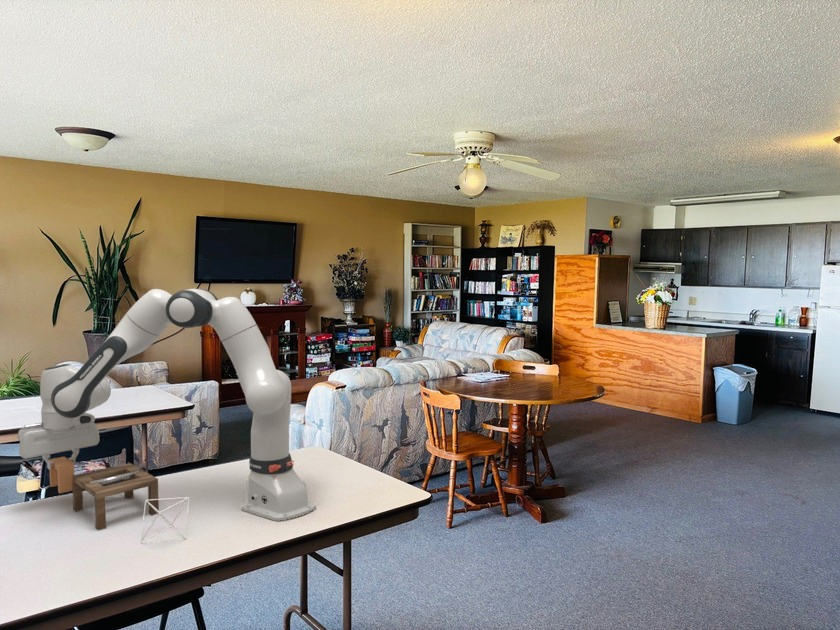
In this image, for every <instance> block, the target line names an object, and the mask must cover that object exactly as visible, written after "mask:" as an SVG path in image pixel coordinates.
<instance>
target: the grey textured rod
mask: <svg viewBox="0 0 840 630" xmlns="http://www.w3.org/2000/svg"><path fill="white" fill-rule="evenodd" d="M134 473H139V471H135V472H131V473H126V474H122V475H117V476H113V477H108V478H104V479H99V480H95V481H91V482H90V483H95V482H97V483H99V484H100V485H102V486H104V485H109V484H113V483H115V482H119V481H120V482H122V481H124V480H125V479H129V478H133V479H134Z"/></svg>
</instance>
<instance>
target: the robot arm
mask: <svg viewBox="0 0 840 630" xmlns="http://www.w3.org/2000/svg"><path fill="white" fill-rule="evenodd" d="M171 324H173V325H174V326H176V327H180V328H183V329H184V328H185V329H193V328H197V327H202V326H203V327H204V326H207V325H209V326H210V327H211V328H213V329H214V331H215V332H216V334H217V335H218V338H219V340H220V342H221V343H222V345H223V347H224V349H225V351H226V353H227V355H228V356H229V358H230V360H231V362H232V365H233V367H234V369H235V372H236V374H237V378H238V381H239V384H240V387H241V389H242V393H244V394H243V395H244V397H245V402H246V405H247V407H248V409H249V410H250V411H251V412H252V421H251V428H250V455H249V462H248V465H249V470H250V473H249V475H248V476H247V477H248V478H247V479H246V483H245V496H244V503H243V504H242V505H241V511H243V512H246V513H250V514H253V515H256V516H260V517H262V518H265V519H268V520H272V521H275V522H280V520H281V521H287V519H288V520H292V519H295V517H296V518H298V516H299V517H302V516H304V514H305V515H307V514H309V513H311V512H313V511H314V510H315V509H316V508H317V505H316V503H315V502H313V501H312V500H310V499H309V498H308V491H307V483H306V482H305V481H304V480H301V478H300V476H298V474H297V472H296V471H295V469H294V465H295V463H294V462H295V460H293V458H292V456H291V454H290V423H291V422H290V421H291V409H292V407H291V406H292V404H291V403H292V382H291V380H290V377H289V376H288V374H286V373H285V372H284V371H282V370H280V369H276V366H275V363H274V361H273V357H272V355H271V351H270V347H269V345H268V344H267V342H266V340H265V338H264V336H263V334H262V333H261V331H260V328H259V327H258V324H257V323H256V321H255V319H254V318H253V315H252V314H251V312H250V311H249V310H248V308H247V307H246V305H245V304H244V303H243V302H242V300H240V299H239V298H238V297H236V296H226V297H223V298H221V299H218V297H217V295H215V293H213V292H211V291H210V290H209V289H204V288H188V289H184V290H178V291H177V292H175V293H173V294H171V293H170V292H168V291H166V290H163V289H160V288H153V289H150V290H149V291H147V292H146V293H145V294H143V295H142V296H141V297H140V298H139V299H138V300H137V301H136V302H135V303H134V304H133V305H132V306H131V307H130V308H129V309H128V311H127V312H126V313H125V315H123V317H122V318H121V319H120V320H119V322H118V324H117V325H116V327H115V328H114V329H113V330H112V332H110V334H109V335H108V336H107V338H106V339H105V340H104V342H103V343H102V344H101V345H100V347H99V348H97V350H95V351H94V353H93V354H92V355H91V356H90V357H89V359H88V360H87V361H86V362H85V363H84V364H83V365H82V366H81V367H80V368H79V369H77V368H76V367H75V366H73V364H69V363H62V364H59V365H53V366H50V367H47V368H44V370H43V371H42V373H41V376H40V384H39V387H40V392H39V393H40V399H41V402H42V406H41V411H40V413H41V422H38V423H33V424H26V425H25V424H24V426H22V427H21V428H20V429H18V432H17V439H18V440H19V445H18V446H19V448H18V449H19V451H18V455H19V456H20V457H21V458H23V459H25V460H26V459H31V458H37V457H42V459H43V460H44V462H45V463H46V465H47V466H46V468H47V469H48V470H49V469H54V468H55V466H54V465H55V463H54V462H53V461H52V462H50V461H49V459H51V458H50V457H51V455H52V454H58V453H62V452H68V451H71V452H72V454H71V457H68V458H67V459H69V460H70V461H72V462H73V463H74V465H76V459H77V457H78V455H79V453H80V449H84V448H90V447H94V446H97V445H98V444H99V442H100V433H99V427H98V425H97V424H96V423H95V421H96V417H95V415H93V414H92V413H89V412H90V411H91V410H93V409H95V408H98V407H99V406H101V405H103V404H104V403H106V402H107V401H108V400H109V398H110V396H111V386H110V382H109V381H108V380H107V379H106V377H108V375H109V373H110V372H111V371H112V370H113V369H114V368H115V367H117V366H118V365H120V364H121V363H123V362H124V361H126V360H128V359H130V358H132V357H134V356H136V355H138V354H141V353H143V352H144V351H146V350H147V349H148V348H149V347H151V346H152V345H153V344H154V343H155V342H156V341H157V340H158V339H159V338H160V336H161V335H163V333H164V331H165V330H166V329H167V328H168V326H169V325H171ZM88 411H89V412H88ZM312 510H313V511H312ZM310 511H311V512H310ZM306 513H307V514H306ZM301 515H302V516H301ZM291 518H292V519H291Z"/></svg>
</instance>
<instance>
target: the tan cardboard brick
mask: <svg viewBox="0 0 840 630" xmlns="http://www.w3.org/2000/svg"><path fill="white" fill-rule="evenodd" d="M48 459H49V461H50V462H52V461H53V462H54V463H55V465H54V466H55V468H54V469H48V470H49V486H50V487H51V488H53V487H56V486H57V490H58V491H57V492H58V493H59V494H65V493H68V492H73V483H72V475H75V464H74V463H73V462H72V461H70V460H69V459H68V458H67V457H66V456H61V457H54V458H48Z"/></svg>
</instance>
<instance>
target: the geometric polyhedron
mask: <svg viewBox="0 0 840 630" xmlns="http://www.w3.org/2000/svg"><path fill="white" fill-rule="evenodd" d="M178 499H181V500H180V501H178V502H177V503H174V504H172V505H170V506H168V507H166V508H165V509H163V510H160V511H158V510H157V509H156V508H155V507H154V506H153V505H151V504H150V503H149V502H148V499H145V501H144V509H143V517H142V524H141V532H140V541H139V542H140V544H148V543H151V544H152V541H147V540H149V539H151V538H153V537H155V536H156V535H158V534H160V533H162V532H163V531H165V530H167V529H169V528H172V530H173V531H175V532H176V533H177V534H178V535H179V536H180V537H181V539H170V540H169V539H168V540H158V541H157V540H155V541H153V543H160V542H161V543H162V542H164V543H165V542H175V541H177V542H178V541H185V540H186V539H187V530H188V519H189V509H190V508H189V505H190V497H189V496H188V497H187V496H184V497H183V496H182V497H172V498H171V497H169V498H168V497H166V498H165V497H164V498H158V499H149V500H159V501H160V500H161V501H162V500H163V501H164V500H178ZM184 501H185V502H184ZM182 502H184V504H183V505H182V507H181V509H180V510H179V512H178V513H177V515H176V517H175V518H174V520H173V521H172V523H171V522H170V521H169V520H168V518H166V516H164V515H163V514H162V512H165V511H166V510H168V509H170V508H173V507H174V506H176V505H179V504H180V503H182ZM147 504H148V506H149V505H150V506H151V507H152V508H153V509H154V508H155V509H156V510H157V511H158V512H159V513H158V512H157V511H156V510H155V509H154V510H155V511H156V512H157V513H158V514H156V517H155V518H154V520H153V522H152V523H151V525H150V527H149V528H148V529H147V531H146V533H145V534H144V535H143V532H144V531H143V529H144V522H145V513H146V506H147ZM186 504H187V512H186V523H185V533H184V536H183V535H182V534H181V532H179V530H177V529H176V528H175V526H174V522H176V520H177V518H178V516H179V514H180V513H181V512H182V510H183V508H184V507H185V506H186ZM159 516H160V518H161V519H163V521H164V522H166V524H167V525H168V527H166V528H164V529H163V530H161V531H158V532H157V533H156V534H153V535H151V536H150V537H148V538H146V539H145V537H146V536H147V534H148V532H149V531H150V530H151V528H152V526H153V525H154V524H155V522H156V520H157V518H158V517H159Z"/></svg>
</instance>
